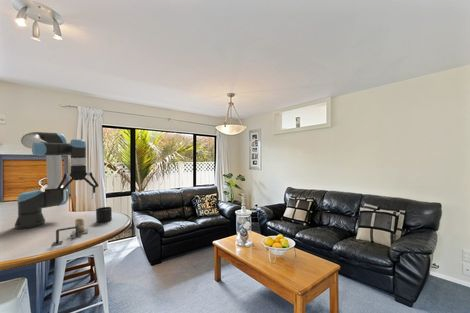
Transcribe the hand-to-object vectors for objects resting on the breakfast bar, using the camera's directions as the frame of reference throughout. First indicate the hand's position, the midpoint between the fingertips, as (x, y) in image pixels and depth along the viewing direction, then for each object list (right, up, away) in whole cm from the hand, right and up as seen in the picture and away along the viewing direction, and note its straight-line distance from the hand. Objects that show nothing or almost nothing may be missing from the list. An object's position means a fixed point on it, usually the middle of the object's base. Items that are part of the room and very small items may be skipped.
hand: (79, 199), depth 129 cm
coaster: (0, -20, 0) cm, 20 cm away
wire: (+2, -20, -11) cm, 23 cm away
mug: (+1, -20, +22) cm, 30 cm away
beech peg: (+1, -20, 0) cm, 20 cm away
